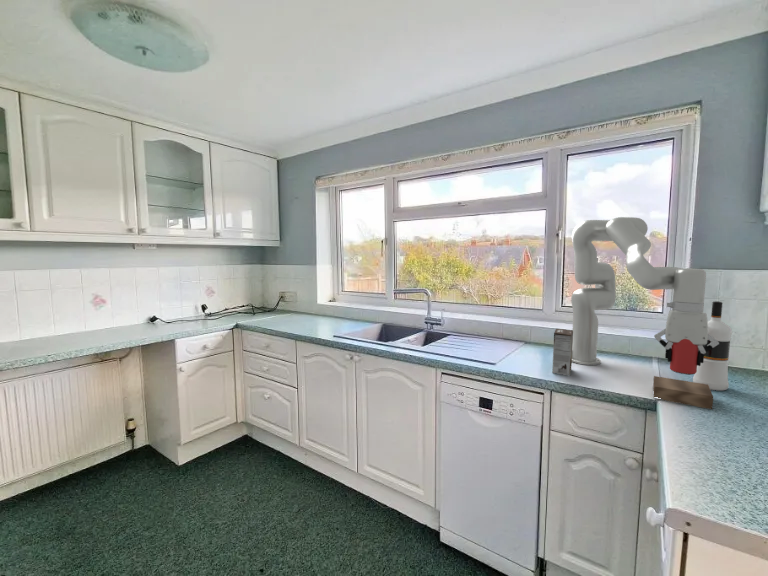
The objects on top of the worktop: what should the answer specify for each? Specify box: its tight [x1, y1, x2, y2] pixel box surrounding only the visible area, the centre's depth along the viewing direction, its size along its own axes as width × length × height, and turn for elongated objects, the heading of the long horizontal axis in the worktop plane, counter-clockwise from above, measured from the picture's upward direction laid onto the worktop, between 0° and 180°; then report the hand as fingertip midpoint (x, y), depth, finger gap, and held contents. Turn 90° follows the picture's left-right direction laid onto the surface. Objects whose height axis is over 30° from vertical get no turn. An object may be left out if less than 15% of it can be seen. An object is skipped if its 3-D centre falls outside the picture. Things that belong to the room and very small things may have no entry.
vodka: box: [692, 300, 733, 392], centre depth 124 cm, size 9×9×30 cm
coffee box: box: [552, 328, 573, 376], centre depth 141 cm, size 9×6×16 cm
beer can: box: [669, 337, 698, 376], centre depth 114 cm, size 7×7×12 cm
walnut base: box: [652, 375, 714, 410], centre depth 116 cm, size 14×12×4 cm
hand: (683, 362), depth 115 cm, fingers closed on beer can, 6 cm apart
